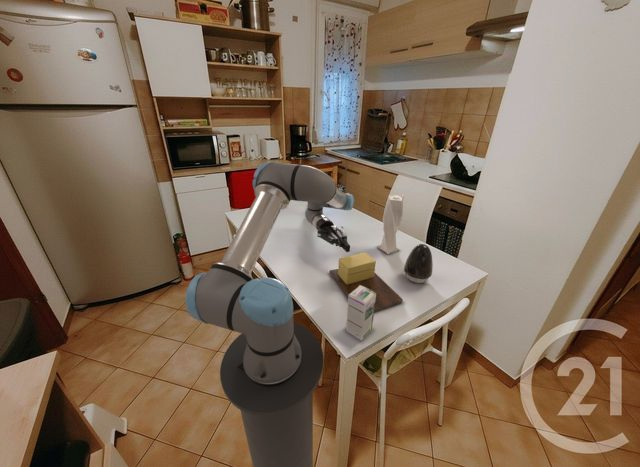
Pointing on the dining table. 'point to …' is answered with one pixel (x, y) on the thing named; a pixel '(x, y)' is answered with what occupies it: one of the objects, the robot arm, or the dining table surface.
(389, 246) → the skyscraper
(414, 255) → the dark egg on stand
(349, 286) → the walnut board
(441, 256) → the dining table surface
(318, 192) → the robot arm
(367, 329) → the syrup box
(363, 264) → the butter slice
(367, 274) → the butter block
